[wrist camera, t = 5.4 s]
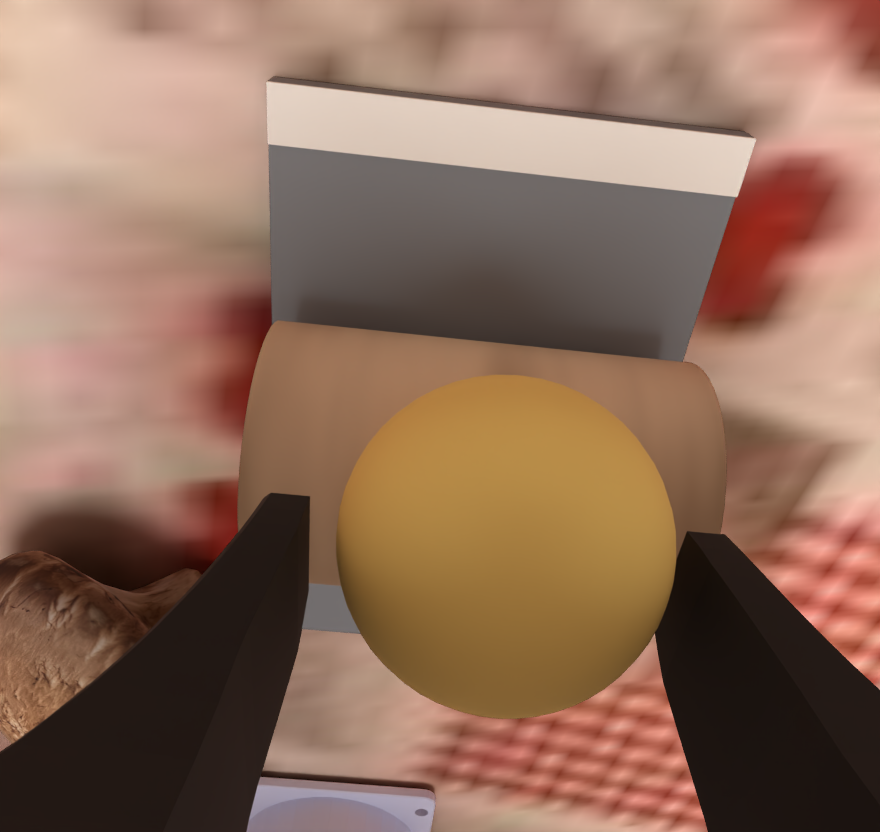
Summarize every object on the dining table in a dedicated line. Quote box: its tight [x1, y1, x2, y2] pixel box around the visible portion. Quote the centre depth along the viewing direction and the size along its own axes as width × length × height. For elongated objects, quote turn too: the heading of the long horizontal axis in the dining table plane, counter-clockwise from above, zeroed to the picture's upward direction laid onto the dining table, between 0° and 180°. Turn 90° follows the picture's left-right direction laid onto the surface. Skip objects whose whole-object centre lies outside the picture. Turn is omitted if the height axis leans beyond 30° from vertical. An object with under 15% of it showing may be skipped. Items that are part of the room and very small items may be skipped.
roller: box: [238, 320, 727, 586], centre depth 16 cm, size 6×9×6 cm, turn 84°
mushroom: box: [0, 551, 202, 744], centre depth 22 cm, size 8×8×6 cm
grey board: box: [266, 77, 756, 634], centre depth 19 cm, size 16×10×1 cm, turn 174°
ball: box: [336, 375, 676, 719], centre depth 11 cm, size 5×5×5 cm
